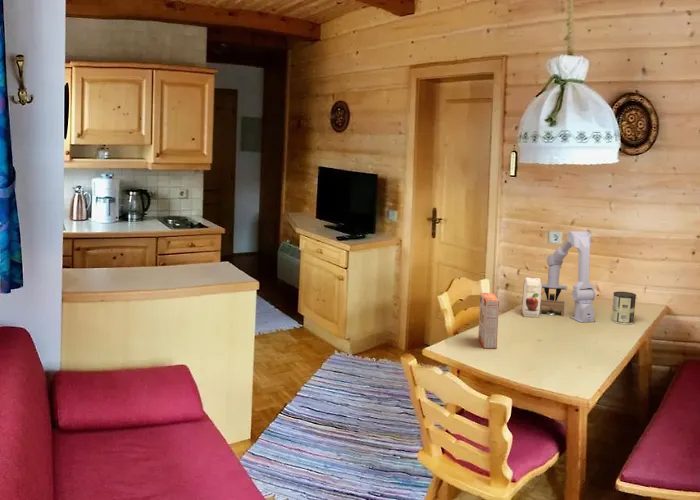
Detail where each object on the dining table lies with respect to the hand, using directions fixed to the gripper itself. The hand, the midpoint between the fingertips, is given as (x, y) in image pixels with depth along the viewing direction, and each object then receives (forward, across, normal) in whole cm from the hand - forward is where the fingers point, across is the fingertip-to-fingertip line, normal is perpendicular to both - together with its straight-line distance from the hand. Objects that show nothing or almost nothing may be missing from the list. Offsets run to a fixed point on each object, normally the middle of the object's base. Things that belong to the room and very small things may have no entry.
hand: (551, 302), depth 354 cm
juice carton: (+2, +10, +26) cm, 28 cm away
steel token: (+2, 0, +20) cm, 20 cm away
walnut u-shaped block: (+2, 0, +18) cm, 18 cm away
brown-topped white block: (+2, 0, +8) cm, 8 cm away
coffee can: (+2, -34, +21) cm, 39 cm away
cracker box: (+2, +26, +83) cm, 87 cm away
